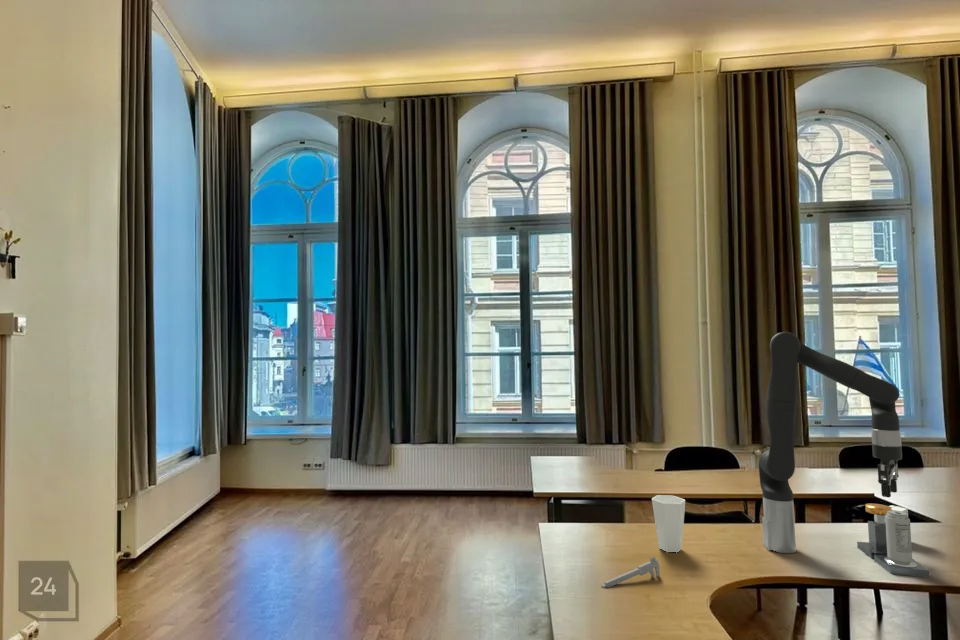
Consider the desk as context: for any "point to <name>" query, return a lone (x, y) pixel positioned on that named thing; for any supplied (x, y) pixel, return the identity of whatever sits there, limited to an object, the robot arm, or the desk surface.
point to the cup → (669, 521)
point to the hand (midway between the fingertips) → (889, 494)
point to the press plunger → (878, 512)
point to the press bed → (901, 567)
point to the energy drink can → (898, 537)
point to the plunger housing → (875, 540)
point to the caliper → (636, 572)
